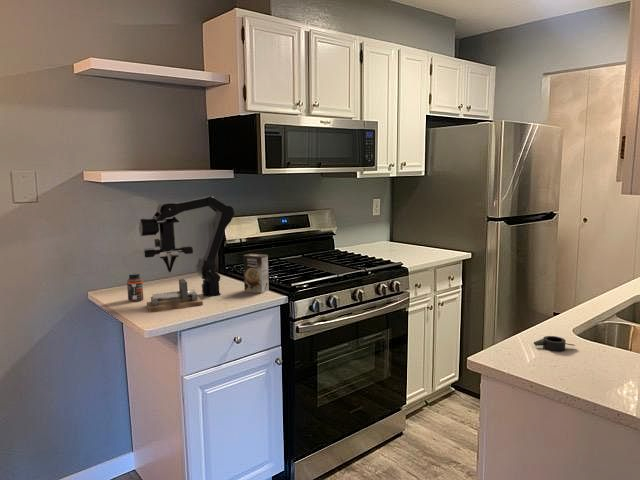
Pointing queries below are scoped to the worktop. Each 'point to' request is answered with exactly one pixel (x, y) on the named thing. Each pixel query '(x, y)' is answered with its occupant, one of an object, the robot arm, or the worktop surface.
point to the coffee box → (256, 273)
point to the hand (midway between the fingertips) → (169, 272)
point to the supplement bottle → (135, 287)
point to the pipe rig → (171, 296)
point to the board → (173, 304)
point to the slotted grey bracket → (183, 290)
